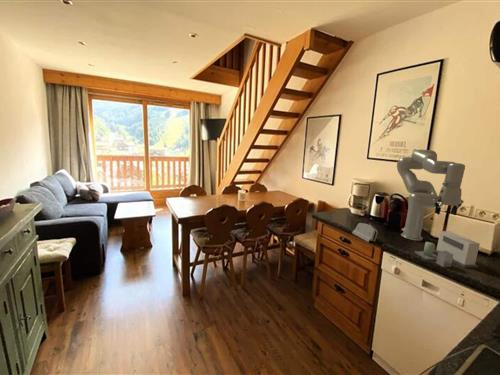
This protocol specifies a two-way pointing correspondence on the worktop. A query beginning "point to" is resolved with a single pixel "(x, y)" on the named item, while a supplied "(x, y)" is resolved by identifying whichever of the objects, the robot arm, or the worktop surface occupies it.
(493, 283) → the worktop surface
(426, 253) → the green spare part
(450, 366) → the worktop surface
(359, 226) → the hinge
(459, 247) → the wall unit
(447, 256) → the metal block
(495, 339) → the worktop surface
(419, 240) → the robot arm
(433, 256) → the slate mat
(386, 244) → the worktop surface
